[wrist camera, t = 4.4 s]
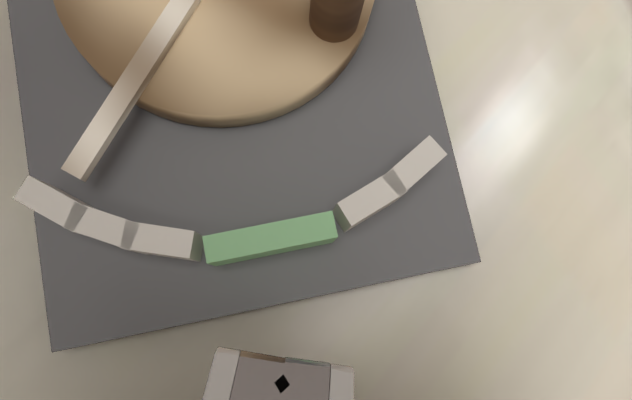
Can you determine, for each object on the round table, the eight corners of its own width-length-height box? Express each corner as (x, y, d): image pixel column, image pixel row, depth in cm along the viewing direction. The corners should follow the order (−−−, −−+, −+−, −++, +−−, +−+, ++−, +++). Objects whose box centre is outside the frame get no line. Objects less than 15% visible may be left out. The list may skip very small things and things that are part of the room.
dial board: (2, -131, 30) (-47, -203, 26) (360, -179, 32) (372, -254, 28) (64, 348, 26) (20, 361, 22) (470, 263, 28) (505, 258, 24)
